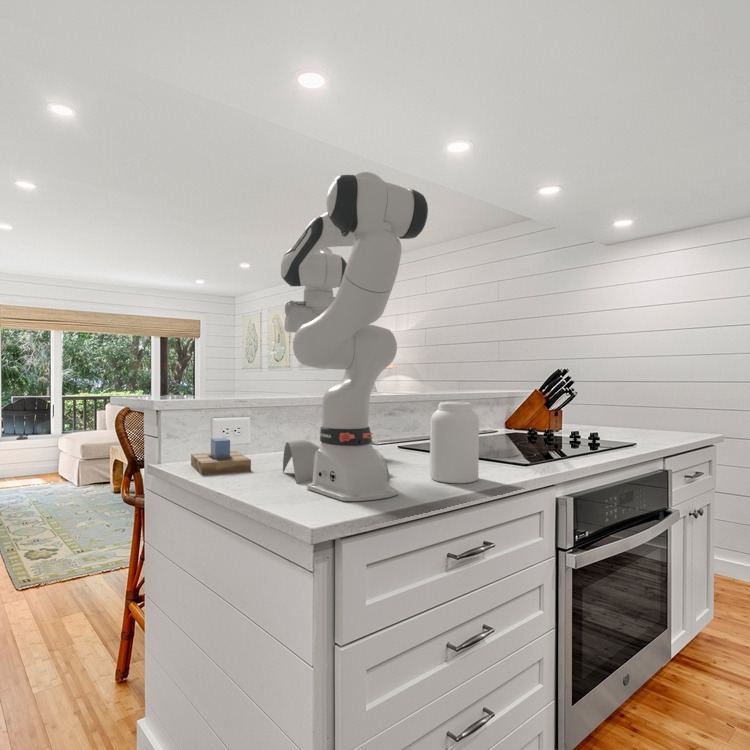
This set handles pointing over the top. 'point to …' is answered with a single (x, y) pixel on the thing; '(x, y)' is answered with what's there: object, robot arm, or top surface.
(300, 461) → the sculpture
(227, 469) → the wooden base block
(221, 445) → the block
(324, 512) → the top surface
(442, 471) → the white lidded jar
